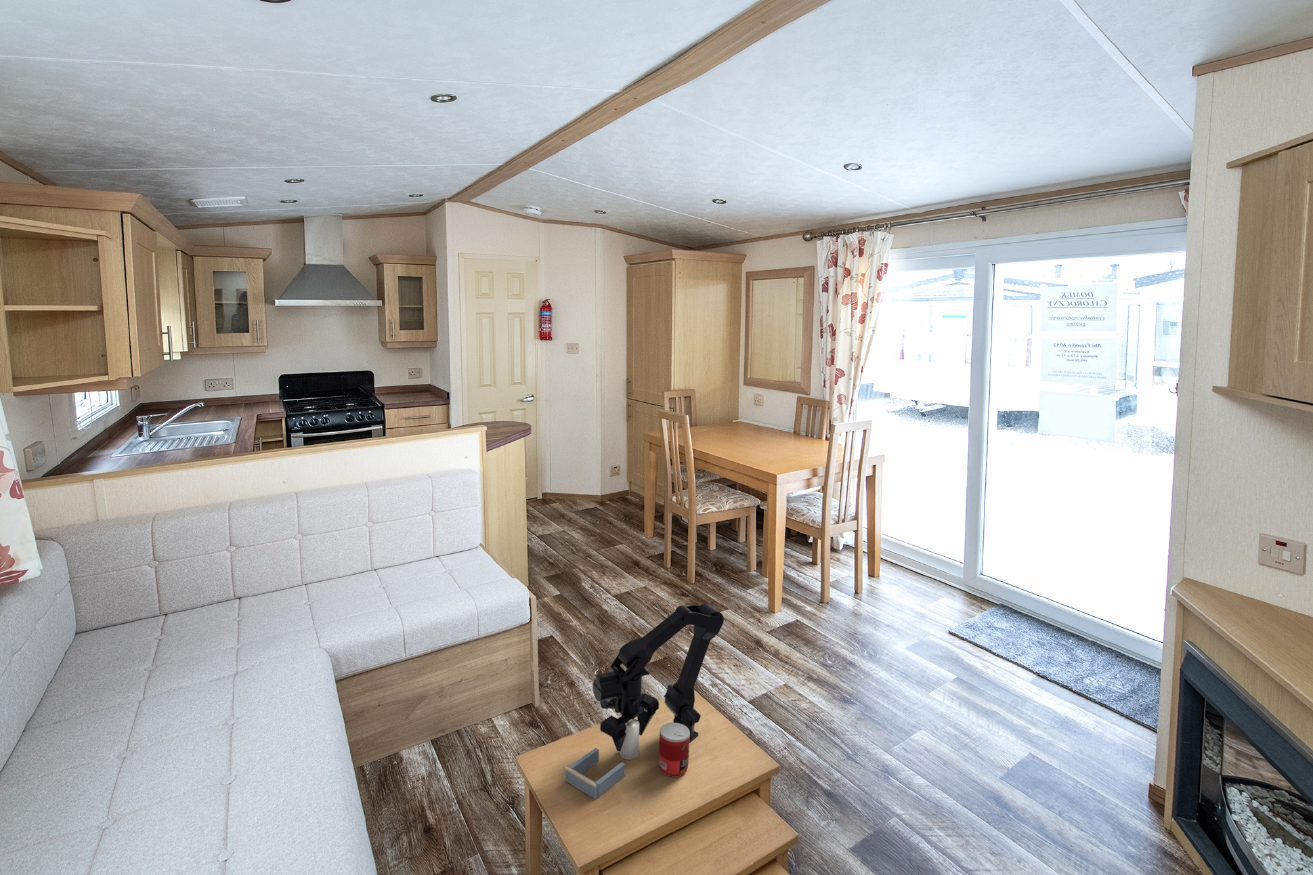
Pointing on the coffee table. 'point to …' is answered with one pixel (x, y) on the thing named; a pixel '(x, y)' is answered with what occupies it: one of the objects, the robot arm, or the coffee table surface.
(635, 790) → the coffee table surface
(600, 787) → the bracket
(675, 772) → the canned food
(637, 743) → the roll
